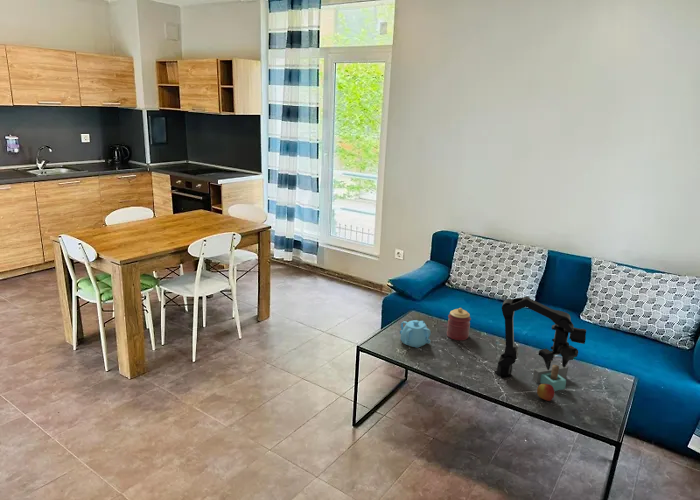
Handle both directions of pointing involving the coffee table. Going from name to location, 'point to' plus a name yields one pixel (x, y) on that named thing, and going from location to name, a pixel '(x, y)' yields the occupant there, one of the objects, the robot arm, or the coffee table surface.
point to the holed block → (556, 384)
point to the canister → (458, 324)
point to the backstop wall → (538, 372)
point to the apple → (545, 392)
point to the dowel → (554, 372)
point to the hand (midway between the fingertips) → (555, 368)
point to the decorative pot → (415, 333)
